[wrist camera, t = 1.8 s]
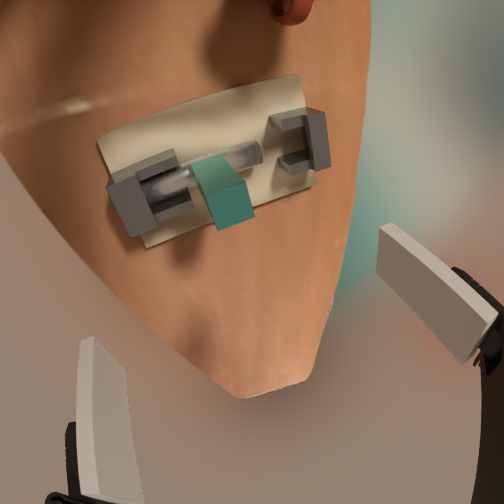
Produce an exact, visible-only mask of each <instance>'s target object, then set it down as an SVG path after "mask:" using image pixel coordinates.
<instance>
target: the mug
mask: <svg viewBox="0 0 504 504" xmlns="http://www.w3.org/2000/svg"><path fill="white" fill-rule="evenodd" d="M267 1H268V5H269V10H270V15H271V18H272V19H273V20H274V21H275V22H277V23H279V24H283V25H288V26H293V25H298V24H300V23H302V22H303V21H305V20H306V18H307V17H308V15H309V13H310V11H311V7H312V4H313V1H314V0H293V1H292V5H291V8H290V10H289V11H288V12H287V13H286V12H285V10H286V6H287V4H288V1H289V0H267Z"/></svg>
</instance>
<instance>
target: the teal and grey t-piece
mask: <svg viewBox="0 0 504 504" xmlns="http://www.w3.org/2000/svg"><path fill="white" fill-rule="evenodd" d="M261 164H263V154H262V151H261V148H260V146H259V144H258V142H257V141H256V139H252V140H248V141H245V142H242V143H239V144H236V145H232V146H229V147H226V148H223V149H220V150H217V151H214V152H211V153H209V154H206V155H203V156H200V157H197V158H194V159H192V160H189V161H186V162H184V163H181V164H179V166H176V167H173V168H171V169H168V170H166V171H163V172H161V173H158V174H156V175H153V176H151V177H148V178H146V179H144V180H141V181H140V183H141V186H142V188H143V191H144V193H145V195H146V197H147V200H148V202H149V204H150V205H152V204H154V203H157V202H159V201H162V200H164V199H167V198H169V197H172V196H174V195H177V194H179V193H182V192H185V191H187V190H190V189H192V188H195V187H198V188H199V191H200V193H201V195H202V198H203V200H204V202H205V204H206V206H207V209H208V211H209V213H210V215H211V217H212V220H213V222H214V224H215V226H216V228H217V231H219V230H222V229H225V228H227V227H230V226H232V225H235V224H238V223H240V222H243V221H246V220H248V219H251V218H254V217H255V215H254V211H253V207H252V204H251V200H250V196H249V192H248V188H247V184H246V182H245V180H244V179H243V178H242V177H241V176H240V175H239V174H238V173H237V172H240V171H243V170H246V169H249V168H252V167H255V166H258V165H261Z"/></svg>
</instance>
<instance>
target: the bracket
mask: <svg viewBox="0 0 504 504" xmlns="http://www.w3.org/2000/svg"><path fill="white" fill-rule="evenodd" d="M176 166H179V162H178V159H177V156H176V154H175V151H174V148H172V149H169V150H166V151H164V152H161V153H159V154H156V155H154V156H151V157H149V158H146V159H144V160H141V161H139V162H137V163H134V164H132V165H130V166H128V167H125V168H123V169H121V170H119V171H116V172H114V173H112V174H111V175H110V178H109V180H108V183H107V186H106V189H107V191H108V193H109V195H110V197H111V200H112V202H113V204H114V206H115V208H116V210H117V212H118V214H119V216H120V218H121V220H122V222H123V224H124V226H125V228H126V229H127V231H128V233H129V235H130V237H131V238H133V237H135V236H137V235H140V234H142V233H144V232H147V231H149V230H152V229H154V228H156V227H158V223H159V222H161V221H164V220H166V219H169V218H171V217H174V216H176V215H179V214H181V213H184V212H186V211H189V210H192V209H194V208H195V207H194V204H193V201H192V198H191V196H190V193H189V190H187V191H185V192H182V193H179V194H177V195H174V196H172V197H169V198H167V199H164V200H162V201H159V202H157V203H154V204H152V205H150V204H149V202H148V200H147V197H146V195H145V193H144V191H143V188H142V186H141V183H140V181H141V180H144V179H146V178H148V177H151V176H153V175H156V174H158V173H161V172H163V171H166V170H168V169H171V168H173V167H176Z"/></svg>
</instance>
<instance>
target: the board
mask: <svg viewBox="0 0 504 504" xmlns="http://www.w3.org/2000/svg"><path fill="white" fill-rule="evenodd" d="M302 107H306V105H305V100H304V94H303V89H302V83H301V78H300V74H292V75H287V76H281V77H276V78H271V79H267V80H262V81H257V82H253V83H249V84H245V85H241V86H237V87H233V88H229V89H225V90H222V91H218V92H214V93H211V94H208V95H204V96H201V97H198V98H195V99H192V100H189V101H185V102H183V103H180V104H177V105H174V106H171V107H168V108H165V109H163V110H160V111H157V112H155V113H152V114H150V115H147V116H144V117H142V118H140V119H137V120H135V121H132V122H130V123H128V124H125V125H123V126H121V127H118V128H116V129H114V130H112V131H110V132H107V133H105V134H103V135H101V136H99V137H97V139H96V140H97V143H98V145H99V148H100V150H101V152H102V155H103V157H104V159H105V162H106V164H107V166H108V169H109V171H110V173H111V174H112V173H114V172H116V171H119V170H121V169H123V168H125V167H128V166H130V165H132V164H134V163H137V162H139V161H141V160H144V159H146V158H149V157H151V156H154V155H156V154H159V153H161V152H164V151H166V150H169V149H172V148H174V151H175V154H176V156H177V159H178V162H179V164H181V163H184V162H186V161H189V160H192V159H194V158H197V157H200V156H203V155H206V154H209V153H211V152H214V151H217V150H220V149H223V148H226V147H229V146H232V145H236V144H239V143H242V142H245V141H248V140H252V139H256V141H257V142H258V144H259V146H260V148H261V151H262V154H263V164H261V165H258V166H255V167H252V168H249V169H246V170H243V171H240V172H237V173H238V174H239V175H240V176H241V177H242V178H243V179H244V180H245V182H246V184H247V188H248V192H249V196H250V200H251V204H252V207H254V206H257V205H260V204H263V203H265V202H268V201H271V200H274V199H277V198H279V197H282V196H285V195H288V194H291V193H294V192H297V191H299V190H302V189H305V188H308V187H311V186H314V185H317V181H316V173H315V171H314V170H312V169H311V170H308V171H305V172H302V173H298V174H295V175H292V176H291V175H290V174H288V173H287V172H286V171H284V170H283V169H282V168H280V167H279V163H278V158H277V157H279V156H283V155H286V154H289V153H293V152H296V151H299V150H303V149H305V148H304V142H303V136H302V130H301V127H298V128H295V129H291V130H287V131H281V130H279V129H277V128H275V127H273V126H271V123H270V119H269V115H273V114H277V113H281V112H285V111H289V110H294V109H298V108H302ZM189 193H190V196H191V198H192V201H193V204H194V207H195V208H194V209H192V210H189V211H186V212H184V213H181V214H179V215H176V216H174V217H171V218H169V219H166V220H164V221H161V222H159V223H158V227H156V228H154V229H152V230H149V231H147V232H144V233H142V234H140V236H141V238H142V240H143V242H144V244H145V246H146V248H149V247H151V246H153V245H156V244H158V243H161V242H163V241H166V240H168V239H171V238H173V237H176V236H178V235H181V234H183V233H186V232H188V231H191V230H193V229H196V228H199V227H201V226H204V225H206V224H209V223H211V222H213V220H212V217H211V215H210V213H209V211H208V209H207V206H206V204H205V202H204V200H203V198H202V195H201V193H200V191H199V188H198V187H195V188H192V189H190V190H189Z"/></svg>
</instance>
